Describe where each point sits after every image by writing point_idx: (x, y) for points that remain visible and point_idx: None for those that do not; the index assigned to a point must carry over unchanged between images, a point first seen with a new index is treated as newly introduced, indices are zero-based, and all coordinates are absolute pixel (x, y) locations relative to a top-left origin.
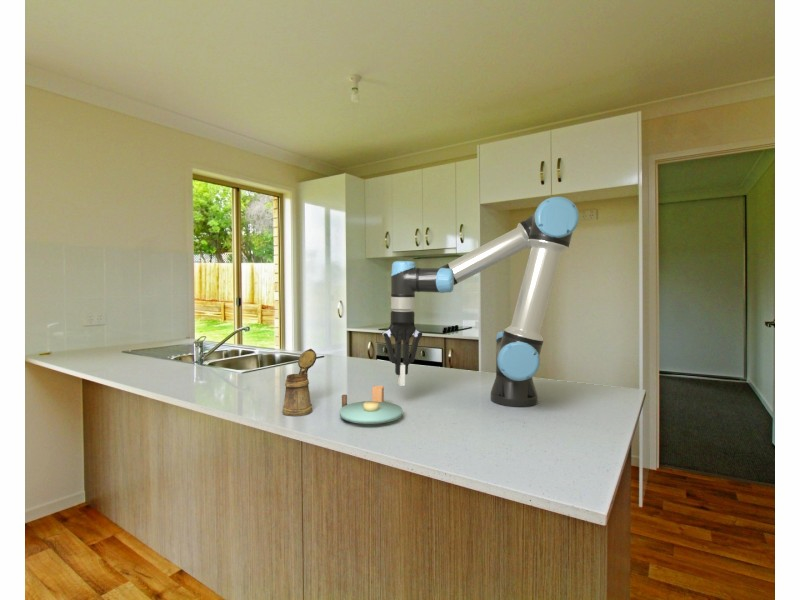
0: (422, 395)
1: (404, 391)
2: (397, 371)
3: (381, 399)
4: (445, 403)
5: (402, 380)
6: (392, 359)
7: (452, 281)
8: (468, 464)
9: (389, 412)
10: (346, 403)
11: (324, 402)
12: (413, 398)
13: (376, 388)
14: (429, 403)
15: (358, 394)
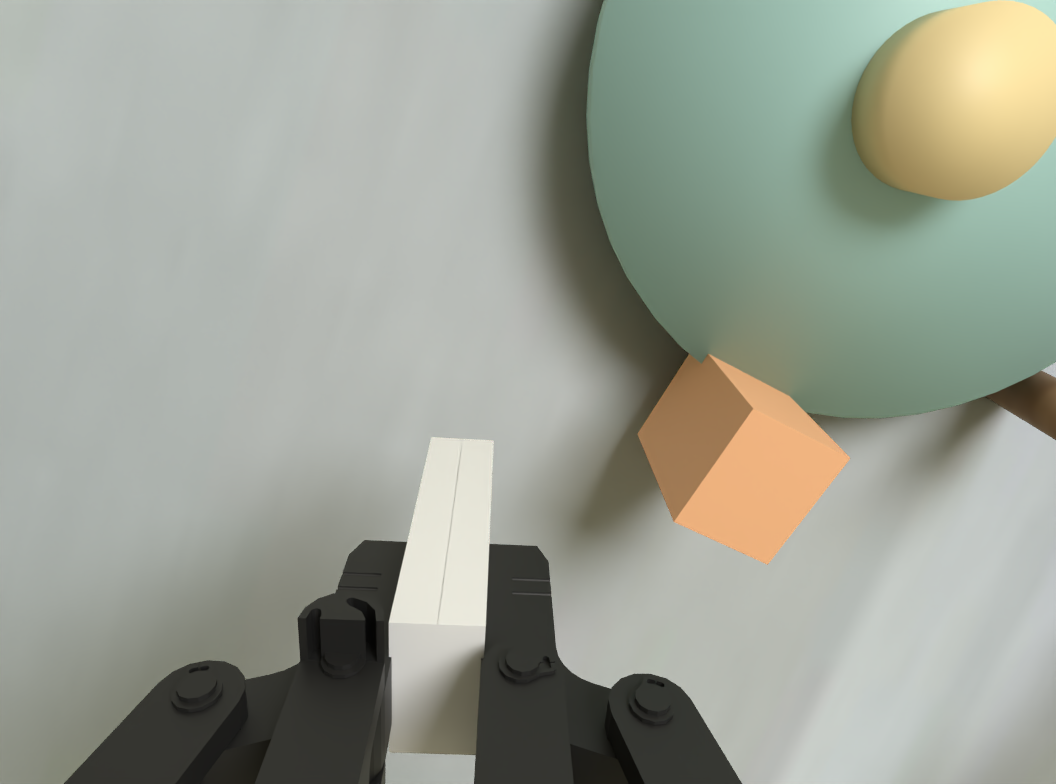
0: (179, 623)
1: None
2: (531, 581)
3: (717, 361)
4: (8, 331)
5: (460, 473)
6: (682, 740)
7: None
8: None
9: None
10: (1053, 390)
11: (1019, 652)
12: (287, 564)
13: (801, 445)
14: (176, 380)
15: None
